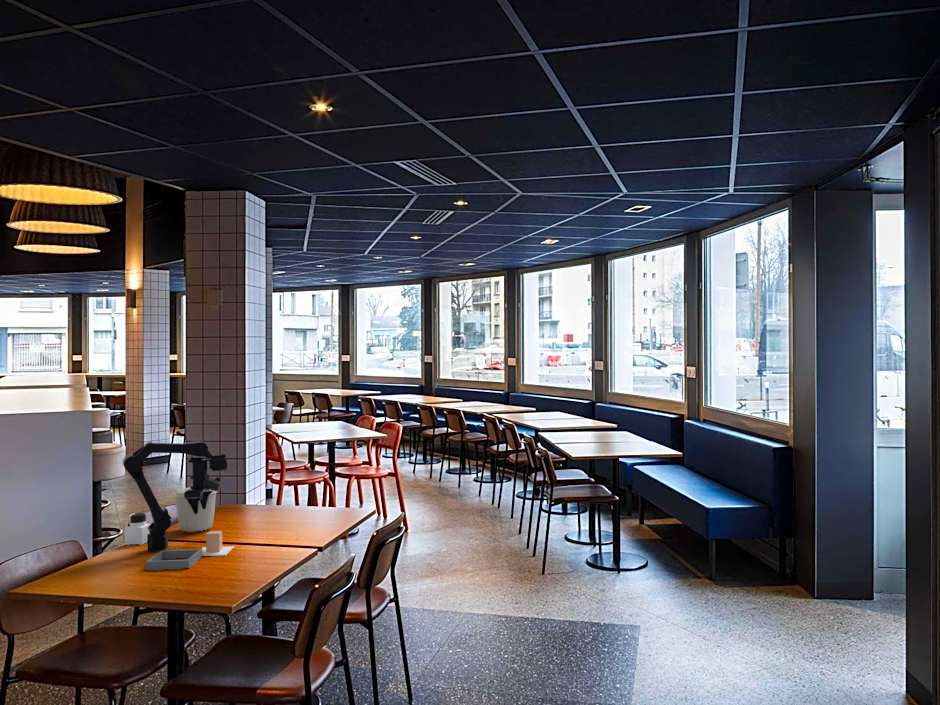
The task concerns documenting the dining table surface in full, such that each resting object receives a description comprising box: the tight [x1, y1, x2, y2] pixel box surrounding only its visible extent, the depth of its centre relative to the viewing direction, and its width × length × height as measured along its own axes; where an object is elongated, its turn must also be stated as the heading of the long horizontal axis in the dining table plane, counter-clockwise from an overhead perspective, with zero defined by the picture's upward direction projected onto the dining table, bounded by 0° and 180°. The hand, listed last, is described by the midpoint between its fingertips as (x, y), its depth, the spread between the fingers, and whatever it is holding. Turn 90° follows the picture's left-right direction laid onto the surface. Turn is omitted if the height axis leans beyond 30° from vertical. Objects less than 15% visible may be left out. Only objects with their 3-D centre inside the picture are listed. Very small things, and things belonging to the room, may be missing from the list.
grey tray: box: [145, 548, 203, 571], centre depth 263 cm, size 15×15×3 cm
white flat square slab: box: [201, 545, 235, 557], centre depth 278 cm, size 12×12×1 cm
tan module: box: [205, 530, 223, 552], centre depth 278 cm, size 5×4×7 cm
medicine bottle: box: [124, 512, 151, 546], centre depth 295 cm, size 7×7×12 cm
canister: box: [172, 483, 219, 533], centre depth 316 cm, size 18×18×21 cm
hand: (200, 511), depth 292 cm, fingers open, 9 cm apart
